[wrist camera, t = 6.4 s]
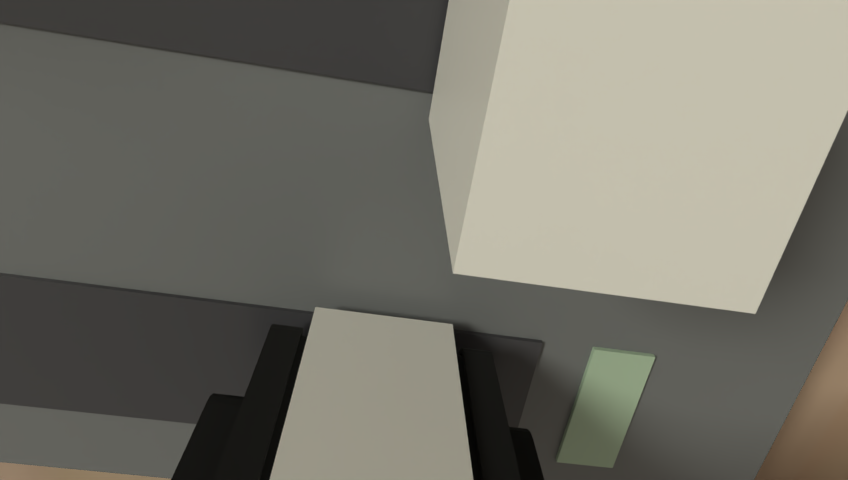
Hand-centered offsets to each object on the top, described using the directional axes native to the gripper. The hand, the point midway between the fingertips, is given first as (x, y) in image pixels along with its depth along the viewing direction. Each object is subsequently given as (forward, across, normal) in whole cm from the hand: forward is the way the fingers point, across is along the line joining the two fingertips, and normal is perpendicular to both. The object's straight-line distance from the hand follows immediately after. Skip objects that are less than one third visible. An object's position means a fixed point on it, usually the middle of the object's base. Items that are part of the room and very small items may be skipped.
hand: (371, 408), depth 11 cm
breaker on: (0, -1, -7) cm, 7 cm away
